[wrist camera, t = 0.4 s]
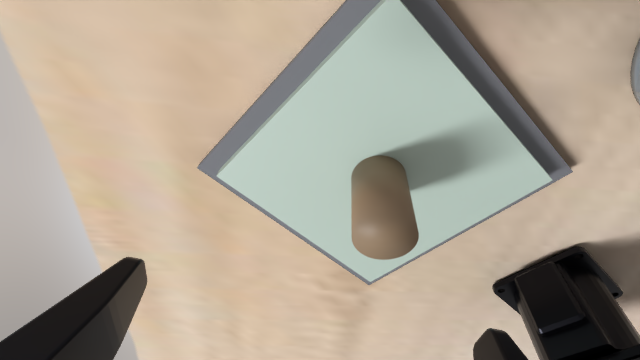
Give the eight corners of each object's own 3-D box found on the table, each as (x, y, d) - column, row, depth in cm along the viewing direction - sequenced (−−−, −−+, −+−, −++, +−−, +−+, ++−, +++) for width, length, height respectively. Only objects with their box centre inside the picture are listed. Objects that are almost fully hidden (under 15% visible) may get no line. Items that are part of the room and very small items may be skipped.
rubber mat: (568, 166, 20) (572, 171, 20) (368, 279, 27) (368, 285, 27) (393, -53, 14) (394, -52, 14) (199, 163, 22) (197, 167, 21)
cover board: (546, 171, 20) (599, 243, 15) (369, 273, 26) (373, 343, 22) (391, -11, 15) (407, 21, 11) (220, 168, 21) (187, 233, 17)
